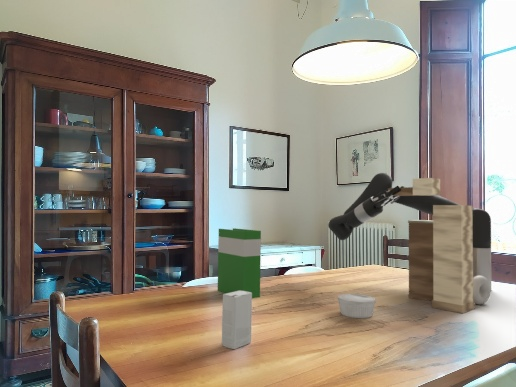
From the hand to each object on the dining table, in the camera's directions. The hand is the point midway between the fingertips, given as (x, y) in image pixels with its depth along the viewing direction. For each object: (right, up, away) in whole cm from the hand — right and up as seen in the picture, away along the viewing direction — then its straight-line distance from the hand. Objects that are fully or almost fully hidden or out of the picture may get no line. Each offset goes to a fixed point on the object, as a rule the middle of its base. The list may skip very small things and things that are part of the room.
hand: (402, 188), depth 151 cm
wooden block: (+9, -40, -21) cm, 46 cm away
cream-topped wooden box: (+9, -41, -5) cm, 42 cm away
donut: (+21, -41, -16) cm, 48 cm away
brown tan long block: (+3, -3, -3) cm, 5 cm away
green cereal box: (-63, -40, -4) cm, 75 cm away
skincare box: (-61, -38, -59) cm, 93 cm away
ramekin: (-25, -40, -31) cm, 56 cm away
